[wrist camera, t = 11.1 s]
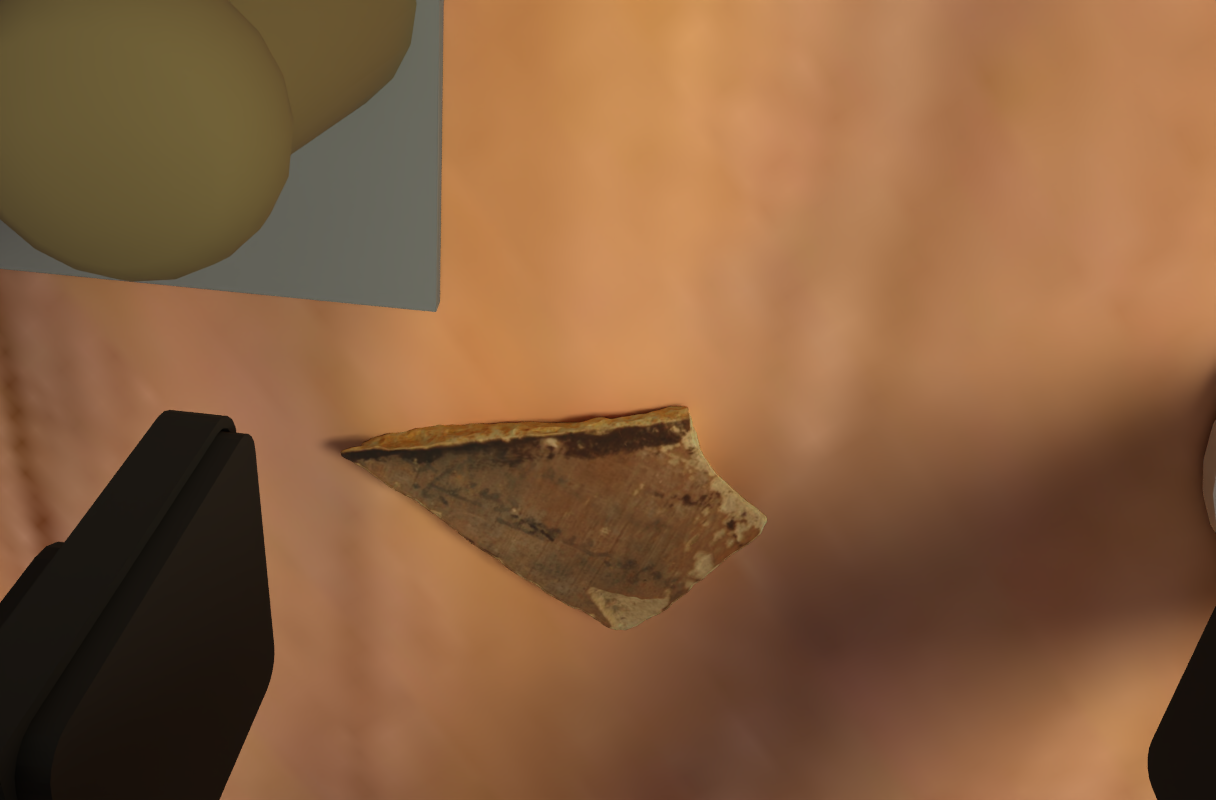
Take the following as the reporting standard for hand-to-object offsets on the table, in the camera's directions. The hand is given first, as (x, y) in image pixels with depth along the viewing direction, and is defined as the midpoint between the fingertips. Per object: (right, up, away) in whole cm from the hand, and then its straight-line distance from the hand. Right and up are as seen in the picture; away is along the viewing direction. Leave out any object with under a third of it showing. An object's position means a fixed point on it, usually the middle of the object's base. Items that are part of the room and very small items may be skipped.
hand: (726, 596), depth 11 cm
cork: (-9, +11, +16) cm, 22 cm away
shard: (-2, -2, +25) cm, 25 cm away
